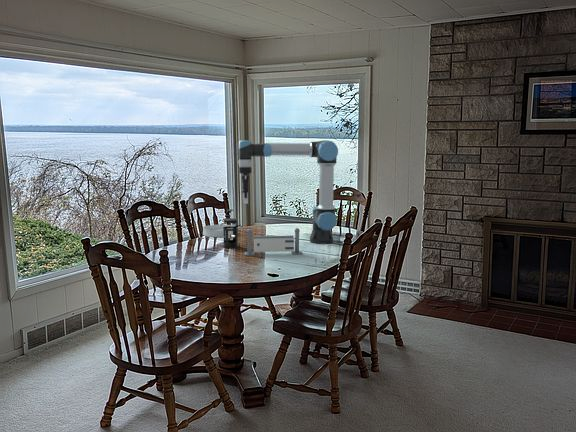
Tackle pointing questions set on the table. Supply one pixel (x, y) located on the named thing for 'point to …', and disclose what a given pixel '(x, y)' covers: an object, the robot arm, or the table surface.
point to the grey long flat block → (273, 243)
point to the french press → (227, 242)
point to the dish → (215, 230)
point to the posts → (250, 253)
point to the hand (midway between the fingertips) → (245, 202)
